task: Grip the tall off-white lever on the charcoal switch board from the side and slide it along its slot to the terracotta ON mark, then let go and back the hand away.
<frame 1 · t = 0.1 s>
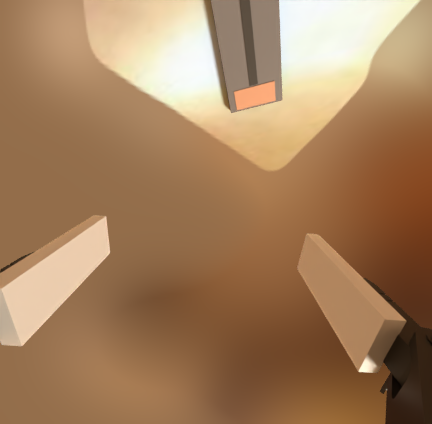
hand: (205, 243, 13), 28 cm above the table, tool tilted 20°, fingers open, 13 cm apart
switch board: (243, 2, 26), on the table
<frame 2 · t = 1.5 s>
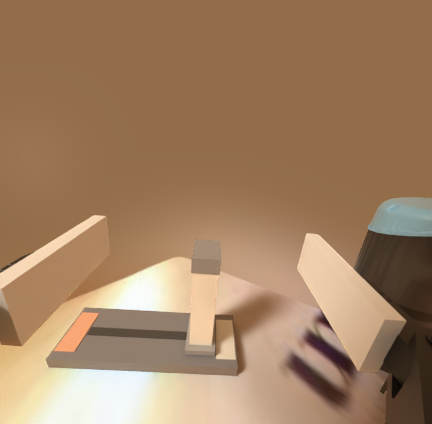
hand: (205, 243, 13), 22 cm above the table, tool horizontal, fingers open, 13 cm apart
switch board: (153, 341, 30), on the table
lever: (203, 296, 27), point 9 cm above the table, slide at -7.0 cm
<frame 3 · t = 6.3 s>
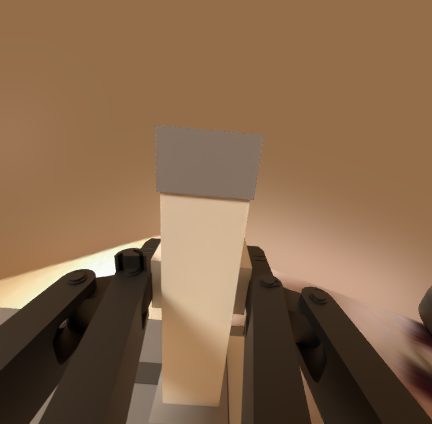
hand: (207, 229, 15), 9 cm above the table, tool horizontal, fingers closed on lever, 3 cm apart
switch board: (88, 383, 13), on the table
lever: (201, 282, 10), point 9 cm above the table, slide at -7.0 cm, touching gripper
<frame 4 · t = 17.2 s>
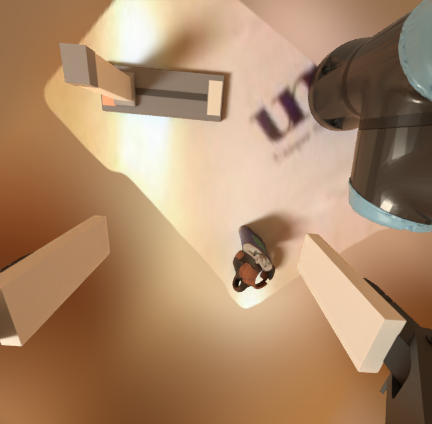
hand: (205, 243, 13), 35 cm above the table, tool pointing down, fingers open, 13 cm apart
switch board: (163, 95, 41), on the table
flask: (252, 237, 52), on the table
lever: (105, 79, 32), point 9 cm above the table, slide at 7.0 cm
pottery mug: (248, 264, 55), on the table
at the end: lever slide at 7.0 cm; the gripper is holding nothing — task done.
